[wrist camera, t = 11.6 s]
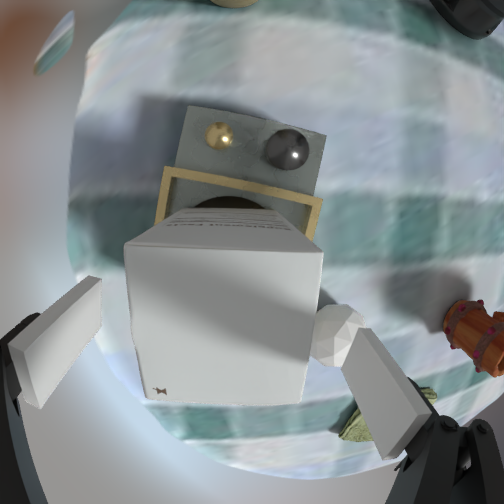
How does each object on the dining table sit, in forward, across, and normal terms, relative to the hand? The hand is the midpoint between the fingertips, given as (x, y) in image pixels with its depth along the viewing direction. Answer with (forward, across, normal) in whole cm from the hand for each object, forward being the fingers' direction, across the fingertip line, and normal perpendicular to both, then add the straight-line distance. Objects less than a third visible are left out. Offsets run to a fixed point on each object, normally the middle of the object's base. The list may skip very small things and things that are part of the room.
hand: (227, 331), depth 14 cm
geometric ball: (+21, +14, -8) cm, 26 cm away
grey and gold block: (+20, 0, +2) cm, 21 cm away
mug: (+21, +40, -4) cm, 45 cm away
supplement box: (+14, 0, 0) cm, 14 cm away
